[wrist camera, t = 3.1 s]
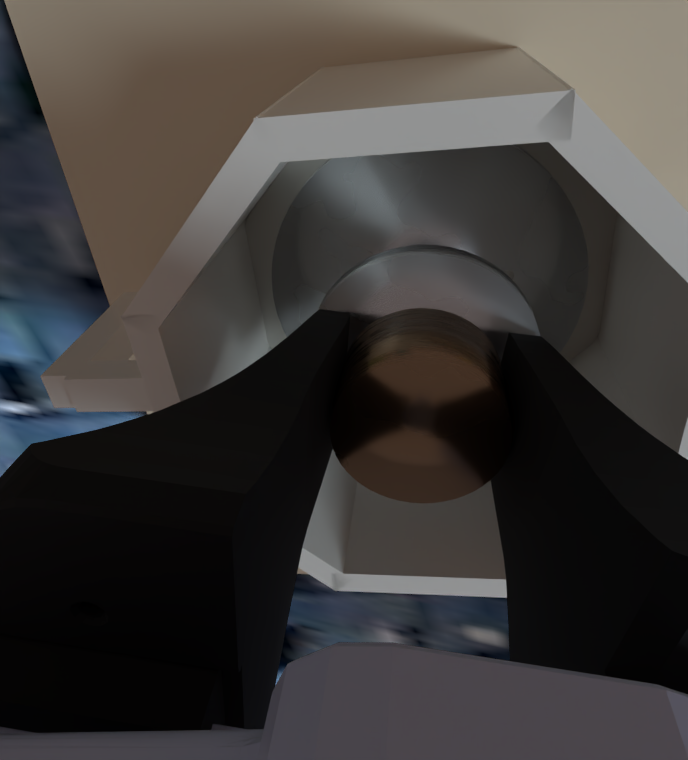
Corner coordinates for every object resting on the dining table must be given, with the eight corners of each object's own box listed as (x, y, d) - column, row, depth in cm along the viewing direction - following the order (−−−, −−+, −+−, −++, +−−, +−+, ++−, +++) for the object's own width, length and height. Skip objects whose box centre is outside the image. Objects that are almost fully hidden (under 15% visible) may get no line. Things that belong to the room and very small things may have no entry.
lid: (567, 405, 16) (627, 594, 11) (298, 408, 18) (243, 579, 13) (604, 106, 12) (723, 193, 7) (250, 136, 14) (140, 228, 8)
